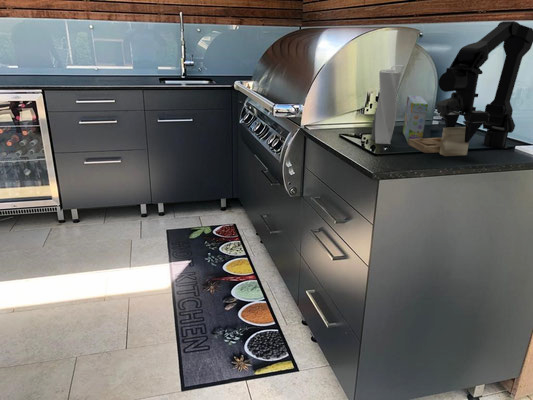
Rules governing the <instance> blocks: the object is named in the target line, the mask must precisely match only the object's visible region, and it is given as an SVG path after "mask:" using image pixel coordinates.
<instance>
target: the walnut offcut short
mask: <svg viewBox="0 0 533 400" xmlns="http://www.w3.org/2000/svg"><path fill="white" fill-rule="evenodd" d="M418 142H420V143H422V144H424V145H426V146H434V144H433V143H431V142H428V141H425V140H423V141H418Z"/></svg>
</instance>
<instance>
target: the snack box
mask: <svg viewBox="0 0 533 400" xmlns="http://www.w3.org/2000/svg"><path fill="white" fill-rule="evenodd" d="M406 100H407V101H406V106H405V113H404V122H403V128H402V134H403V135H404V137H405V140H406V143H408V141H409V139H422V138H423V137H424V130H425V124H426V121H427V120H426V118H427V114H428V113H427V112H428V106H429V103H428V102H427V101H426V100H425V98H423V97H422V96H420V95H407V99H406Z"/></svg>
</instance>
